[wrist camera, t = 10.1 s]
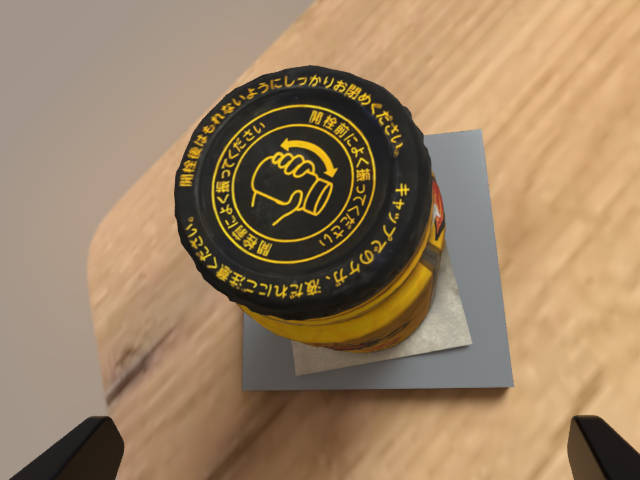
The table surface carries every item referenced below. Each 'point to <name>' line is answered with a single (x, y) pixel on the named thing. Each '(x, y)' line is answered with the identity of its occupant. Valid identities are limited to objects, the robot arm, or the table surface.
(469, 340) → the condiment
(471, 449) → the table surface
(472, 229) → the coaster board
